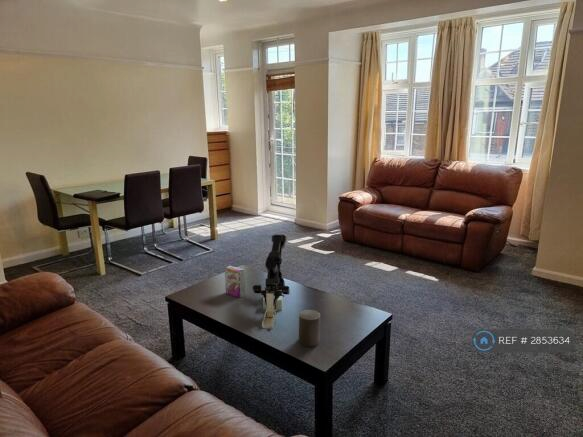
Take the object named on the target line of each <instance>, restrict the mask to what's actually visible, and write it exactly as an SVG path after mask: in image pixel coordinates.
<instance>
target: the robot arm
mask: <svg viewBox="0 0 583 437" xmlns="http://www.w3.org/2000/svg"><path fill="white" fill-rule="evenodd" d="M271 243H272V246H271V251H270V252H269V253H268V255H267V256H266V259H265V260H266V261H265V265H264V266H265V268H266V271H267V275H266V278H265V282H264V283H265V285H264V286H265V287H264V286H262V285H261V284H254V285H253V286H252V291H253V293H254V294H260V295H261V296H263V299H265V304H266V306H267V299H266V293H267V291H274V296H275V297H274V302H273V306H274V305H275V303H276V301H277V299H278V298H279V296H283V298H285V295H290V292H291V291H290V290H291V289H290V287H289V286H288V285H286V283H285V280H284V277H283V274H282V271H281V266H282V263H283V259H282V255H283V253H282V252H283V249H284V248H285V246H286V243H287V236H286V235H285V234H273V235H271Z"/></svg>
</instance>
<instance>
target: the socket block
mask: <svg viewBox="0 0 583 437" xmlns="http://www.w3.org/2000/svg"><path fill="white" fill-rule="evenodd" d="M274 297H275V296H274ZM283 298H284V297H283V296H279V298H278V299H277V301H276V308H275V310H276V311H283V307H284V301H283V300H284V299H283ZM262 304H263V305H262V306H263V311H266V309H267V306H266V304H265V299H264V298H263V299H262Z"/></svg>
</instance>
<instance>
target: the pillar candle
mask: <svg viewBox="0 0 583 437" xmlns="http://www.w3.org/2000/svg"><path fill="white" fill-rule="evenodd" d="M298 314H299V315H298V316H299V317H298V318H299V319H298V343H299V344H300V345H301V346H302V347H305V348H306V347H307V348H315V347H316V346H319V344H320V337H321V336H320V335H321V333H320V328H321V313H320V312H318V311H317V310H312V309H305V310H302V311H300V312H299V313H298Z"/></svg>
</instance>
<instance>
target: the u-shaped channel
mask: <svg viewBox="0 0 583 437" xmlns="http://www.w3.org/2000/svg"><path fill="white" fill-rule="evenodd" d="M276 317H277V310H275V311H274V314H273V317H267V309H266V310H265V312H264V316H263V319H262V321H261V329H268V330H269V329H270V330H273V329H274V324H275V320H276Z"/></svg>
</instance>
